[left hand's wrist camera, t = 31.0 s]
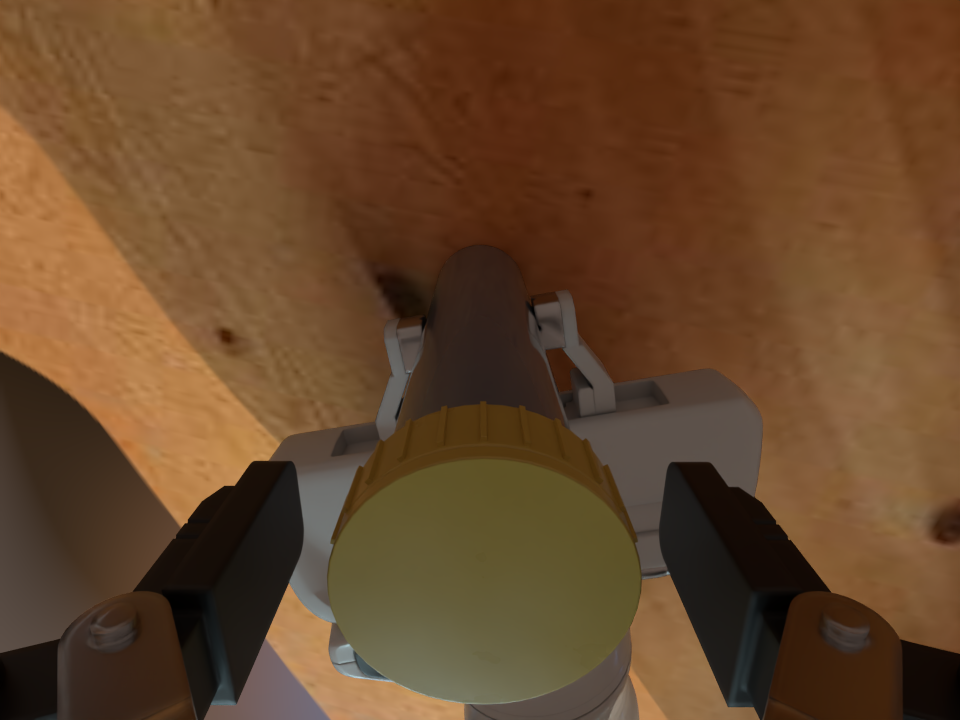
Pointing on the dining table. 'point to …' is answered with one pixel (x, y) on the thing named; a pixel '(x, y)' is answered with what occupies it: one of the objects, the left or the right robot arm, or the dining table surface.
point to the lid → (484, 557)
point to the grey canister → (481, 342)
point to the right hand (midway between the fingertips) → (475, 308)
